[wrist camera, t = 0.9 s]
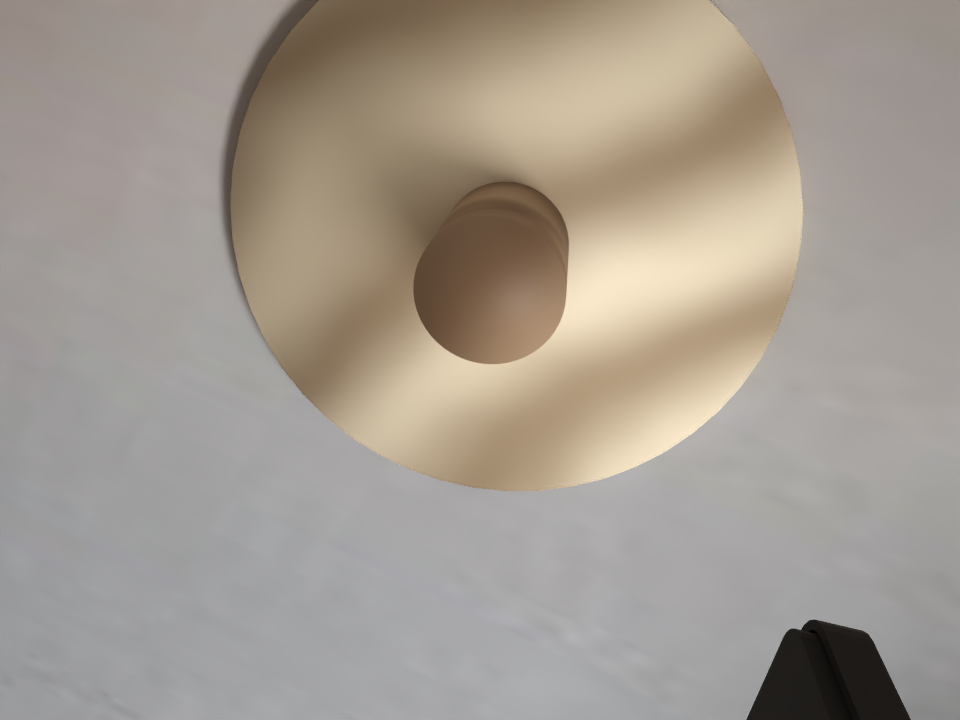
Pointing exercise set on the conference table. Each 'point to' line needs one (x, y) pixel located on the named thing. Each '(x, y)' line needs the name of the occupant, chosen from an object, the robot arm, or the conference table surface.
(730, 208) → the lid
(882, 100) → the conference table surface
